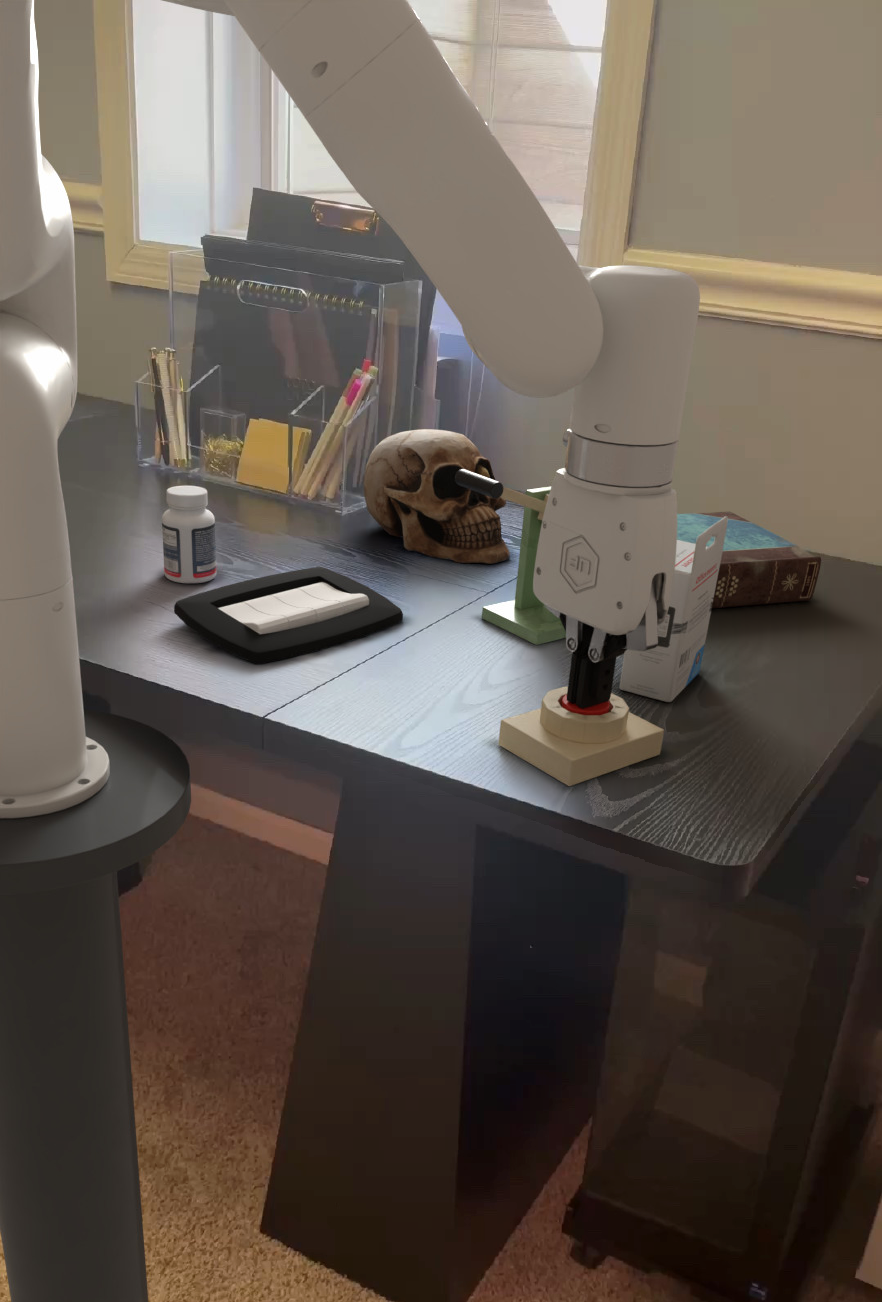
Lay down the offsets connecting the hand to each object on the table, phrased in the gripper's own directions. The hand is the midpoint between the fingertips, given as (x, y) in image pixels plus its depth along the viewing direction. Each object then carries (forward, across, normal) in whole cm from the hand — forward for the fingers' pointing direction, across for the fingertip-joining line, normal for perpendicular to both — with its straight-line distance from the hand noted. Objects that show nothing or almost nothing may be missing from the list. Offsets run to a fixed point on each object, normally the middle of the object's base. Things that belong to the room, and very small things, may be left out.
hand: (588, 701), depth 92 cm
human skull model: (+4, -48, +24) cm, 54 cm away
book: (+4, -24, +39) cm, 46 cm away
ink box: (+4, -6, +16) cm, 18 cm away
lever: (-7, -22, +12) cm, 26 cm away
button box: (+4, 0, 0) cm, 4 cm away
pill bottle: (+4, -50, -7) cm, 51 cm away
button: (+2, 0, 0) cm, 2 cm away
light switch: (+4, -34, -5) cm, 35 cm away
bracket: (+4, -22, +17) cm, 28 cm away
